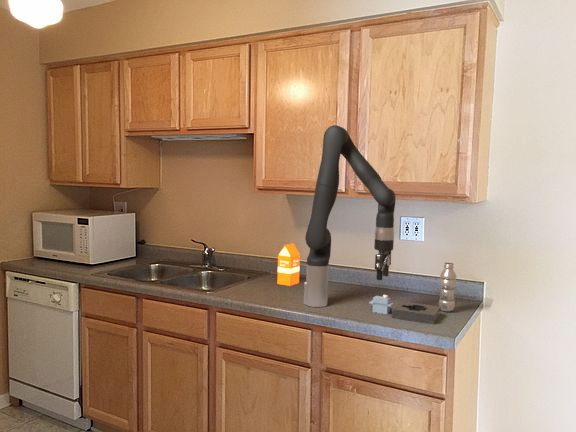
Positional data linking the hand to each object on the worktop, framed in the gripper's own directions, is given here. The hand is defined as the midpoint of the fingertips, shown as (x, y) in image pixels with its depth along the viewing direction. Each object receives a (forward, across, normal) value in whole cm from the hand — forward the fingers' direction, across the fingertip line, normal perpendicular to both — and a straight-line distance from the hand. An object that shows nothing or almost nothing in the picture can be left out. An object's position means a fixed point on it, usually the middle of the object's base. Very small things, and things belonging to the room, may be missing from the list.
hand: (382, 277), depth 198 cm
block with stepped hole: (+14, -1, +14) cm, 20 cm away
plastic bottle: (+14, -16, +23) cm, 31 cm away
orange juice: (+14, -26, -56) cm, 63 cm away
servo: (+14, 0, 0) cm, 14 cm away
